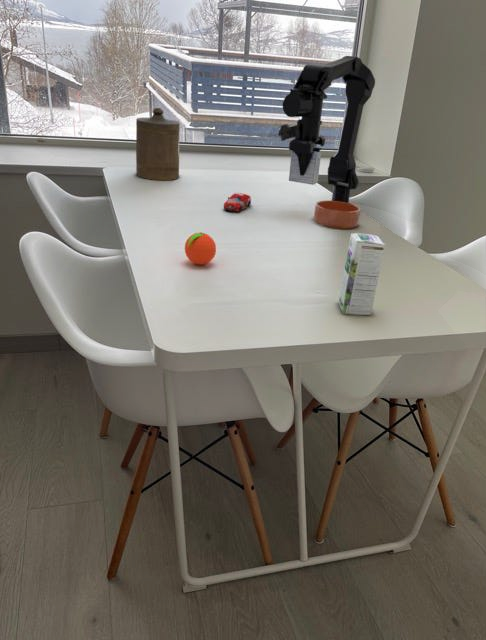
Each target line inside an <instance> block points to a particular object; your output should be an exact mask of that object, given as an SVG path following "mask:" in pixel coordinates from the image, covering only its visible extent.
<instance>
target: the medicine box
mask: <svg viewBox="0 0 486 640" xmlns="http://www.w3.org/2000/svg"><path fill="white" fill-rule="evenodd" d="M313 152H315V151H313ZM290 153H291V154H290V164H289V173H288V174H289V175H288V181H289V182H292V183H293V182H294V183H299V184H305V185H312V186H314V185H316V184H318V182H319V174H320V166H321V158H322V152H315V153H314V155H313V157H312V159H311V161H310V164H309V166H308V168H307V170H306V172H305V174H304V176H302V175H300V169H299V162H298V157H297V155H296V154H295V153H294V152H293V151H292V150H291V152H290Z"/></svg>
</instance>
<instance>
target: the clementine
mask: <svg viewBox="0 0 486 640" xmlns="http://www.w3.org/2000/svg"><path fill="white" fill-rule="evenodd" d="M216 252H217V247H216V242H215V240H214V239H213V238H212V237H211V236H210V234H207V233H205V232H202V231H201V232H195V233H193V234H191V235H190V236H189V237H188V238H187V239H186V241H185V244H184V253H185V255H186V258H187V259H188V260H189V261H190V262H191V263H193V264H195V265H201V266H202V265H207V264H209V263H210V262H211V261H212V260H213V259H214V258H215V256H216Z"/></svg>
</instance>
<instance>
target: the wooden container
mask: <svg viewBox="0 0 486 640" xmlns="http://www.w3.org/2000/svg"><path fill="white" fill-rule="evenodd" d="M152 113H153V115H152V116H151V117H138V118H136V119H135V120H136V122H135V124H136V126H135V127H136V130H135V133H136V135H135V138H136V139H135V140H136V141H135V160H136V161H135V164H136V165H135V167H136V168H135V169H136V175H137V177H140V178H143V179H147V180H153V181H173V180H174V181H175V180H176V179H179V177H180V128H181V126H180V125H181V124H180V121H178V120H176V119H175V120H174V119H169V118H165V116H164V115H163V114H164V110H163V109H162V108H161V107H155V108H153V110H152Z"/></svg>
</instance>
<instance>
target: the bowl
mask: <svg viewBox="0 0 486 640" xmlns="http://www.w3.org/2000/svg"><path fill="white" fill-rule="evenodd" d="M350 203H351V202H349V203H346V202H340V201H332V200H319V201H317V202H315V204H314V213H313V221H315V223H316V224H318V225H320V226H322V227H326V228H331V229H336V230H337V229H339V230H349V229H354V228H355V227H357V226H358V225H359V223H360V217H361V208H360V206H358V205H356V204H353V203H351V204H350Z"/></svg>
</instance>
